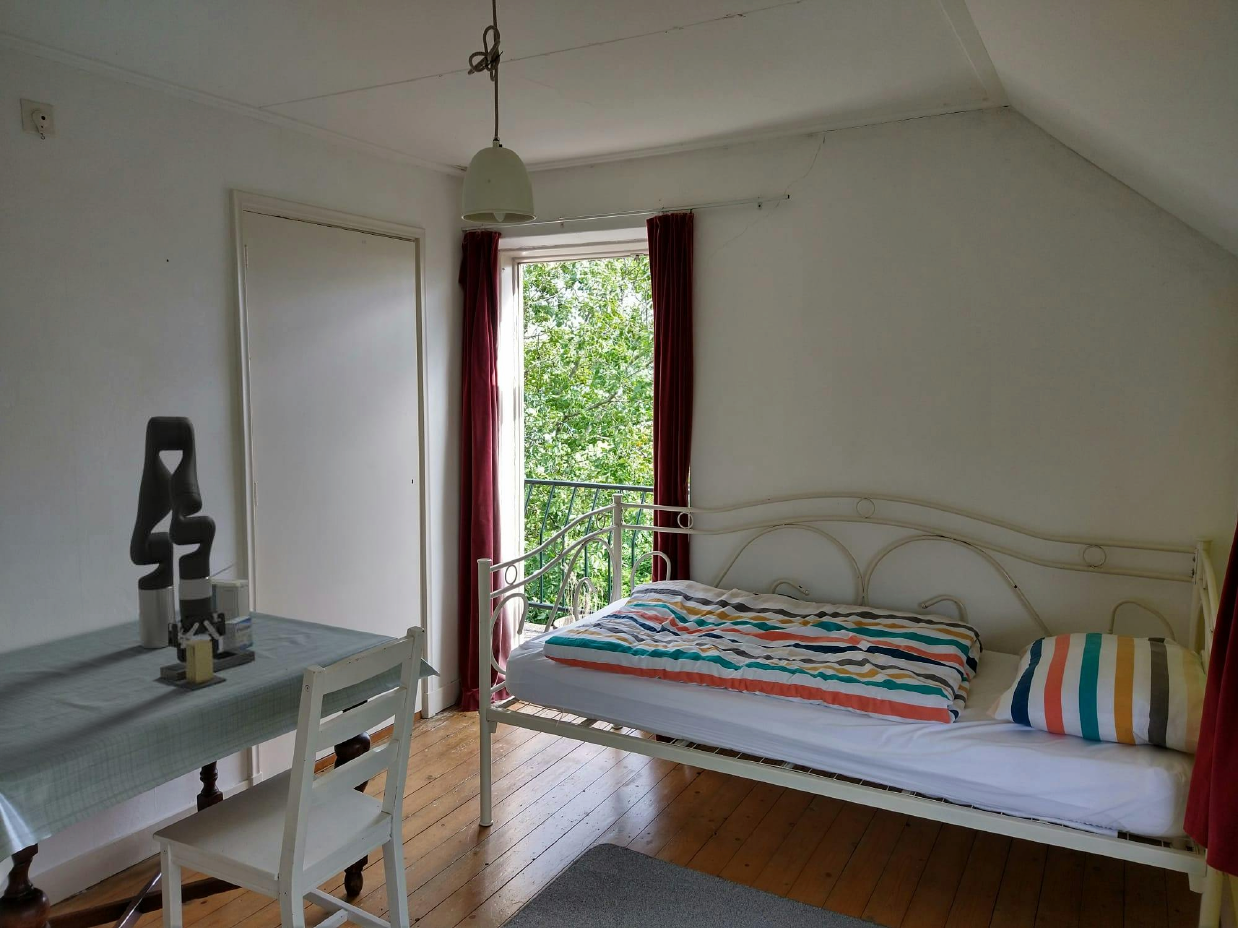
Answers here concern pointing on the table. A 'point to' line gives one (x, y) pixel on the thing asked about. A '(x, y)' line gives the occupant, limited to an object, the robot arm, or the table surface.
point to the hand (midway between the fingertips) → (198, 657)
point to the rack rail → (219, 663)
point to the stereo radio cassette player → (229, 597)
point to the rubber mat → (194, 687)
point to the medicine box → (238, 633)
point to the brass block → (199, 661)
